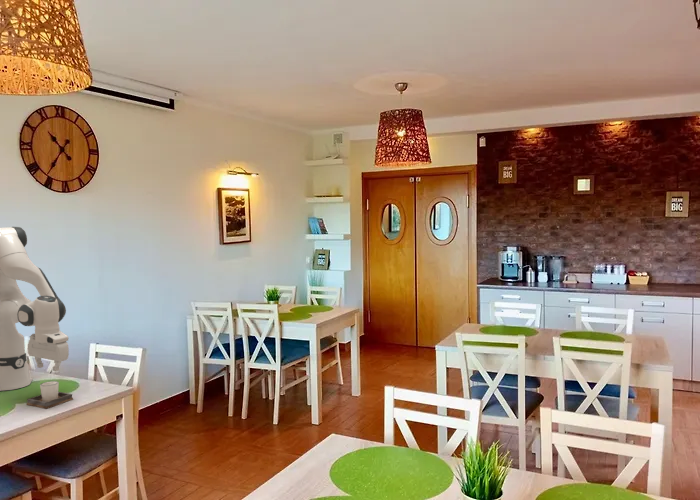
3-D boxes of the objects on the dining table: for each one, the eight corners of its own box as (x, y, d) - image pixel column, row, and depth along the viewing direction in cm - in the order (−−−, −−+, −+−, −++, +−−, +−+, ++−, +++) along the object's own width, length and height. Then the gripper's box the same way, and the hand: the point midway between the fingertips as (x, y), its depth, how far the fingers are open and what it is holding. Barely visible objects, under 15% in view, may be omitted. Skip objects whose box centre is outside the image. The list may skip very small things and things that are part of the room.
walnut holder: (26, 404, 222) (26, 399, 222) (53, 395, 233) (53, 390, 233) (46, 408, 217) (46, 403, 217) (73, 399, 228) (72, 394, 228)
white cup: (63, 397, 228) (62, 381, 227) (52, 403, 221) (51, 386, 221) (48, 396, 229) (47, 380, 228) (36, 402, 222) (35, 385, 221)
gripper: (23, 334, 225) (23, 367, 226) (57, 340, 216) (58, 374, 217) (37, 331, 230) (38, 363, 231) (71, 337, 222) (71, 370, 223)
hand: (48, 369), depth 224 cm, fingers open, 8 cm apart
